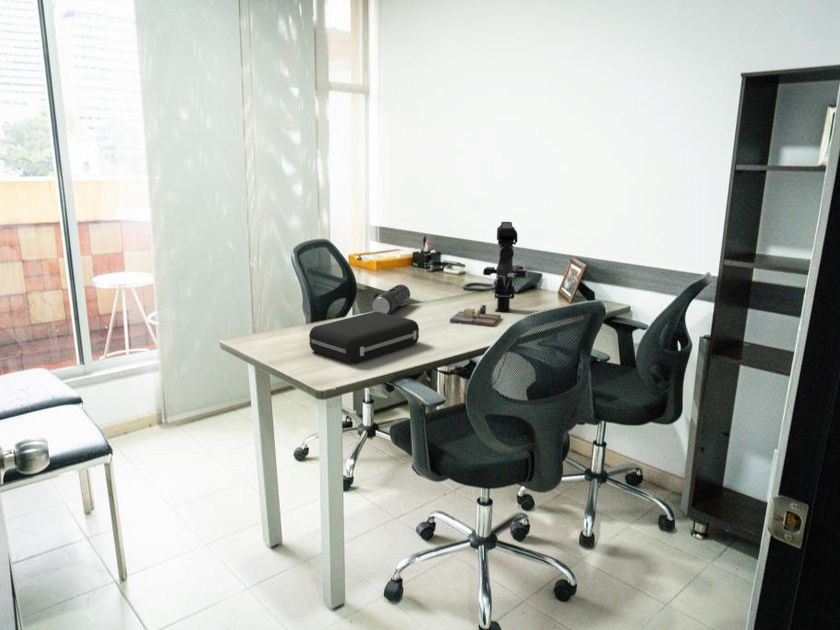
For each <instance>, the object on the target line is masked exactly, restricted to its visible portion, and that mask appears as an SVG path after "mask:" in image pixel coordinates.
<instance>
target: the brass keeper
mask: <svg viewBox="0 0 840 630" xmlns="http://www.w3.org/2000/svg"><path fill="white" fill-rule="evenodd" d="M463 312H464V314H463V317H467V318H473V312H476V313H477V319H478V318H479V313H480V308H479V309H478V310H477V311H476V309H475V308H467V307H466V308H464V310H463Z"/></svg>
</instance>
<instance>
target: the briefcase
mask: <svg viewBox="0 0 840 630" xmlns="http://www.w3.org/2000/svg"><path fill="white" fill-rule="evenodd" d="M419 331H420V328H419V325H418V323H417V321H415V320H414V319H411V318H405V317H402V316H399V315H398V316H397V315H393V314H391V313H390V314H386V313H381V312H377V311H375V312H374V311H372V312H368V313H367V312H366V313H363V314H360V315H355V316H352V317H347V318H344V319H340V320H335V321H330V322H328V323H323V324H319V325H314V326H313V327H312V328H311V329H310V331H309V334H308V337H309V343H308V344H309V346H310V349H311V350H312V351H313V352H314V353H317V354H321V355H323V356H326V357H329V358H332V359H336V360H338V361H342V362H345V363H348V364H350V363H355V364H358V362H359V363H362V362H365V361H368V360H370V359H375V358H377V357H381V356H382V355H383V356H384V355H386V354H390V353H393V352H396V351H398V350H401V349H404V348H408V347H410V346H414V345H415V344H417V342H418V341H419V338H420V334H419ZM395 350H396V351H395ZM392 351H393V352H392ZM389 352H390V353H389ZM364 360H365V361H364ZM361 361H362V362H361Z"/></svg>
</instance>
